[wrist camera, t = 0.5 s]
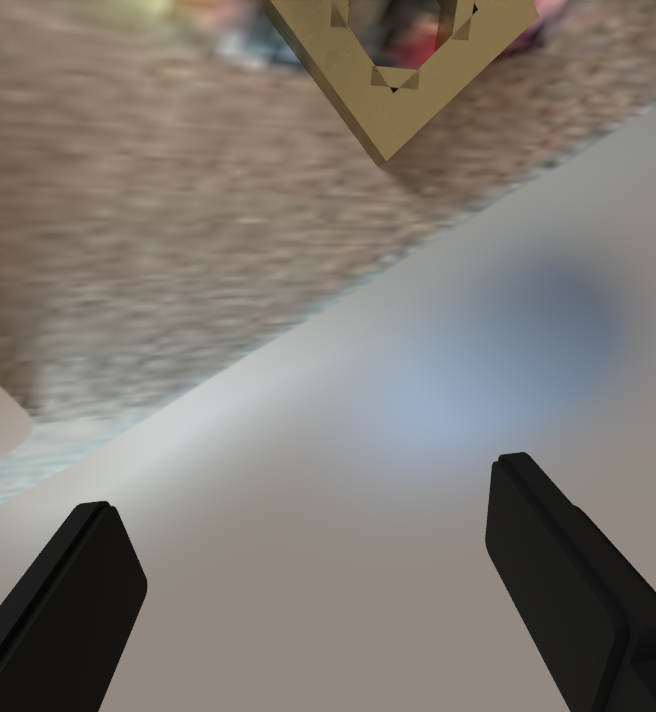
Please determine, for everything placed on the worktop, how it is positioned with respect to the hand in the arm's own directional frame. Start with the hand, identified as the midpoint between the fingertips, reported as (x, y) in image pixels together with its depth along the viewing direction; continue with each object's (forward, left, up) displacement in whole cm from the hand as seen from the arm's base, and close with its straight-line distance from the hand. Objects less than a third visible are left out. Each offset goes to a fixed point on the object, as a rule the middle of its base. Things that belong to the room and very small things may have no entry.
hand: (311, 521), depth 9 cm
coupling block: (-21, +6, -30) cm, 37 cm away
